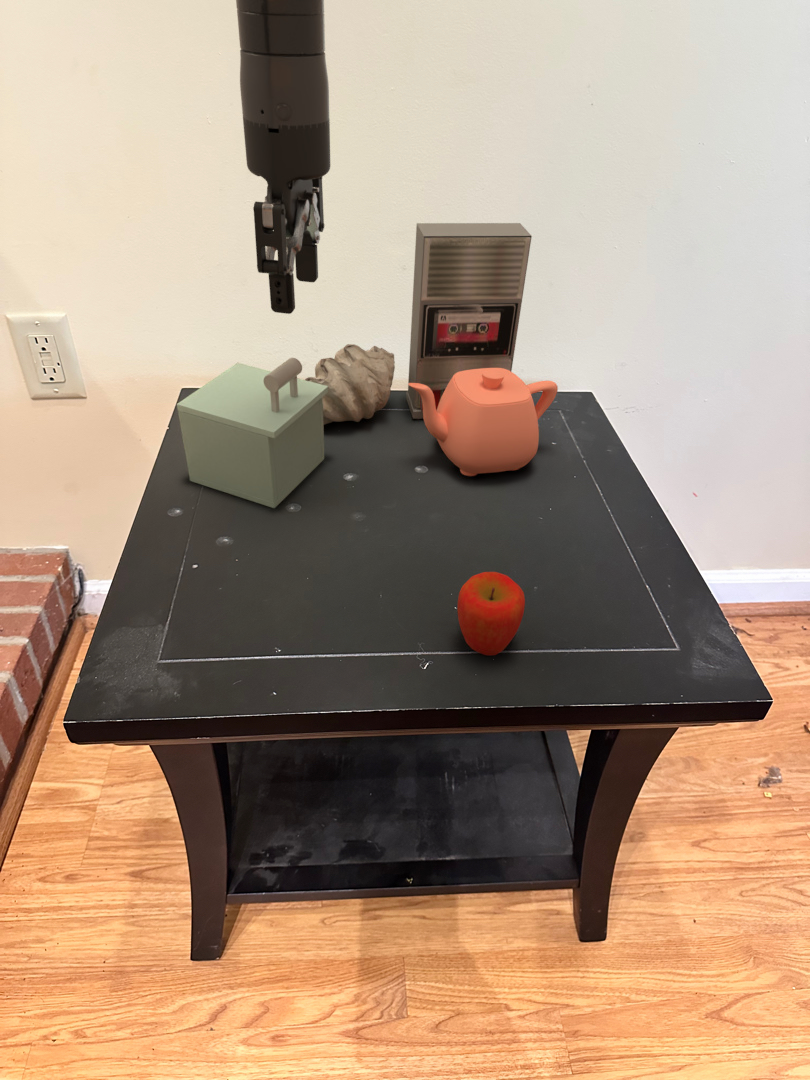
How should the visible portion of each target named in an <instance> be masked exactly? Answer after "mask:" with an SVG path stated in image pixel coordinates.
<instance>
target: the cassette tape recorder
mask: <svg viewBox="0 0 810 1080" xmlns="http://www.w3.org/2000/svg"><path fill="white" fill-rule="evenodd" d="M415 228H416V229H415V246H414V247H415V248H414V264H413V265H414V266H413V286H412V290H413V291H412V302H411V303H412V305H411V323H410V341H409V342H410V343H409V362H408V383H407V391H406V394H405V395H406V397H405V399H406V402H407V405H408V408H409V411H410V414H411V417H412V419H413V420H414V419H415V420H421V419H424V418H423V403H422V398H421V395H420V394H419V393H418V391H416V390H415V389H414V388H412V387H410V386H409V385H408V384H409V383H419V384H423V385H426V386H428V387H429V388H430V389H431V390H432V392H433V394H434V398H435V406H436V411H437V408H438V404H439V402H440V399H441V397H442V395H443V393H444V391H445V389H446V387H447V385H448V383H449V382H450V380H451V378H452V377H453V375H454V374H456V373H457V372H460V371H464V370H471V369H481V368H504V369H507V370H509V371H511V372H512V370H513V365H514V364H513V363H514V357H515V351H516V345H517V338H518V337H517V336H518V331H519V324H520V317H521V310H522V303H523V296H524V292H525V283H526V277H527V271H528V263H529V258H530V257H529V256H530V251H531V244H532V237H533V236H532V234H531V233H530V232H529V231H528V230H527V229H526V227H524V225H523V224H522V223H520V222H466V223H465V222H436V223H435V222H416V227H415Z"/></svg>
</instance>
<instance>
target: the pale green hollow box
mask: <svg viewBox="0 0 810 1080" xmlns="http://www.w3.org/2000/svg"><path fill="white" fill-rule="evenodd" d="M177 414H178V420H179V426H180V430H181V438H182V441H183V442H182V443H183V448H184V454H185V461H186V466H187V471H188V476H189V481H190V482H192V483H194V484H198V485H200V486H201V485H202V486H204V487H206V488H207V487H208V488H211V489H212V490H213V489H214V490H216V491H219V492H223V493H226V494H229V495H232V496H235V497H238V498H241V499H244V500H248V501H249V502H254V503H256V504H259V505H261V506H266V507H268V508H272V509H276V508H277V507H278V506H279V504H281V503H282V501H284V500H285V499H286V498H287V497H288V496H289V495H290V494H291V493H292V491H294V490H295V489H296V488H297V487H298V486H299V485H300V484H301V483H302V482H303V481H304V480H305V479H306V478H307V477H308V476H309V475H310V474H311V473H312V472H313V471H314V470H315V469H316V468H317V467H318V466H319V465H320V464H321V463H322V462H323V461H324V460H325V431H324V430H325V429H324V426H325V425H323V397H322V398H321V399H320V400H318V401H317V402H316V403H315V404H314V405H313V406H311V407H310V408H309V409H308V410H307V411H306V412H305V413H303V414H302V415H301V416H300V417H299V418H298V419H296V420H295V421H294V422H293V423H292V424H291V425H289V426H288V427H287V428H286V429H285V430H284V431H283V432H281V433H280V434H279V435H278V436H277V437H276V438H271V437H268V436H264V435H261V434H257V433H254V432H251V431H247V430H244V429H240V428H237V427H234V426H230V425H227V424H223V423H220V422H216V421H213V420H210V419H206V418H203V417H199V416H196V415H193V414H189V413H186V412H182V411H179V410H178V409H177Z"/></svg>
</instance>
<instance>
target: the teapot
mask: <svg viewBox="0 0 810 1080" xmlns="http://www.w3.org/2000/svg"><path fill="white" fill-rule="evenodd" d="M408 385H409V386H410V387H412V388H414V389H415V390H416V391H418V393H419V394H420V395H421V398H422V403H423V418H422V419H423V423H424V425H425V428H426V430H427V431H428V433H429V434H430V435H431V436H432V437H433V438H435V439H436V441H437V443H438V445H439V447H440V448H441V450H442V451H443V453H444V455H445V456H446V457H447V459H448V460H449V461H450V462H451V463H453V465H455V466H456V467H457V468H459V471H460V473H461V474H462V475H464V476H467V477H475V476H477V475H478V474H491V473H502V472H506V471H508V472H509V471H517V470H520V469H521V468H523V467H525V466H526V465H527V464H529V463H530V462H531V460H533V458H535V456H536V455H537V452H538V448H539V440H540V439H539V438H540V430H539V419H541V417H542V416H543V415H544V413H545V412H546V411H547V410H548V409H549V407H550V406H551V405H552V403H553V402H554V400H555V398H556V396H557V394H558V390H559V387H558V385H557V383H556V382H555V381H553V380H540V381H536V382H532V383H528V384H526V383H525V382H524V381H523V379H521V377H519V376H518V375H517V374H516V373H514V372H512V371H509V370H507V369H504V368H481V369H471V370H464V371H460V372H457V373H456V374H454V375H453V377H452V378H451V380H450V382H449V383H448V385H447V387H446V389H445V391H444V393H443V395H442V397H441V399H440V402H439V404H438V408H437V411H436V406H435V398H434V394H433V392H432V390H431V389H430V388H429V387H428V386H426V385H423V384H419V383H409V384H408V383H407V386H408ZM540 392H541V396H540V397H539V399H538V400H537V402H536V404H535V402H534V399H533V396H532V395H533V394H536V393H540Z"/></svg>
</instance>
